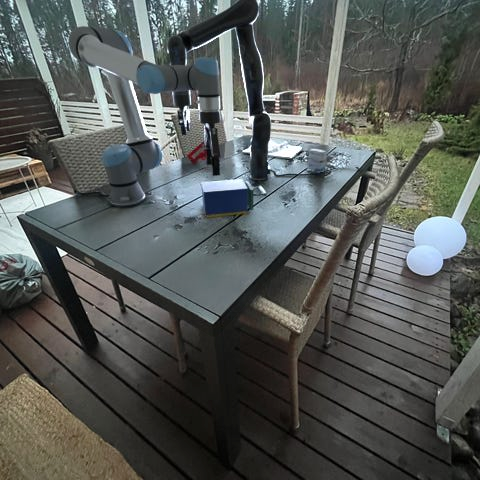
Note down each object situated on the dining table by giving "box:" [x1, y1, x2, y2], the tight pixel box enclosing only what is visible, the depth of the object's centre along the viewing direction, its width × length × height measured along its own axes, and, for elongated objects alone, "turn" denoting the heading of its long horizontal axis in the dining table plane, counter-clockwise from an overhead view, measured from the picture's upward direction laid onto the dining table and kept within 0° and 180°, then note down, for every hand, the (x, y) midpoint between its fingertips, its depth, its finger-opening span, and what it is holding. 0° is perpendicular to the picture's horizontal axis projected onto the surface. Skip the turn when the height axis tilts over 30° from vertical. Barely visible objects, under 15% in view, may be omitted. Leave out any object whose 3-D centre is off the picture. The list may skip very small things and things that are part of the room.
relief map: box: [242, 138, 304, 160], centre depth 192 cm, size 27×35×5 cm
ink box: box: [306, 148, 328, 173], centre depth 153 cm, size 8×5×12 cm, turn 47°
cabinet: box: [200, 178, 249, 219], centre depth 113 cm, size 17×11×11 cm, turn 102°
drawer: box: [244, 180, 267, 211], centre depth 114 cm, size 22×10×9 cm, turn 102°
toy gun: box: [186, 139, 221, 164], centre depth 168 cm, size 18×4×15 cm
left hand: (213, 169), depth 107 cm, fingers open, 13 cm apart
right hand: (186, 132), depth 126 cm, fingers open, 8 cm apart
